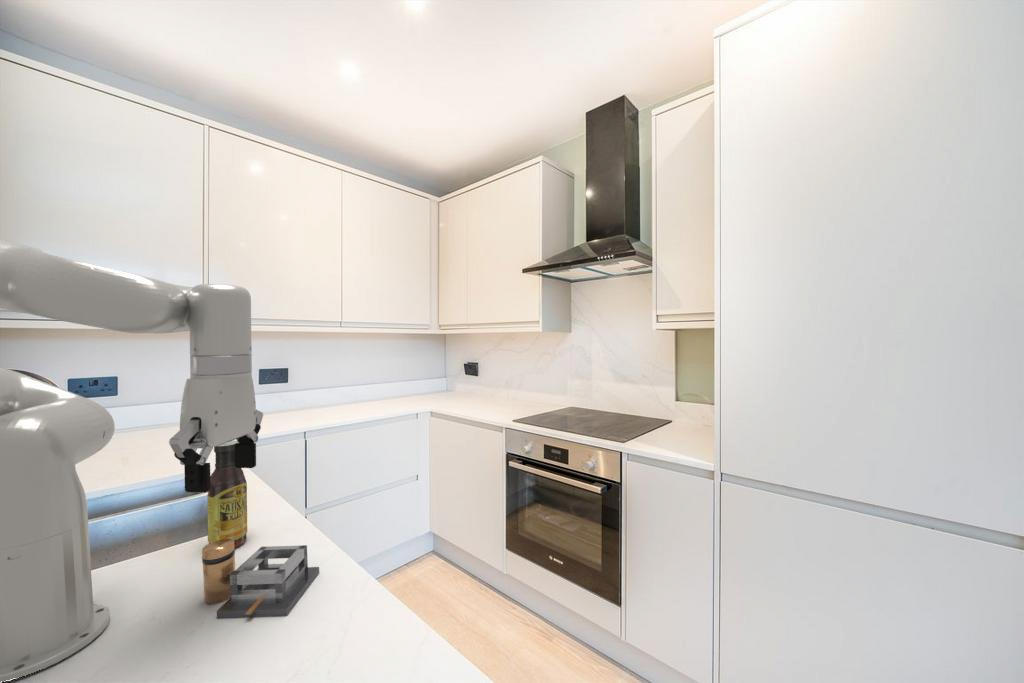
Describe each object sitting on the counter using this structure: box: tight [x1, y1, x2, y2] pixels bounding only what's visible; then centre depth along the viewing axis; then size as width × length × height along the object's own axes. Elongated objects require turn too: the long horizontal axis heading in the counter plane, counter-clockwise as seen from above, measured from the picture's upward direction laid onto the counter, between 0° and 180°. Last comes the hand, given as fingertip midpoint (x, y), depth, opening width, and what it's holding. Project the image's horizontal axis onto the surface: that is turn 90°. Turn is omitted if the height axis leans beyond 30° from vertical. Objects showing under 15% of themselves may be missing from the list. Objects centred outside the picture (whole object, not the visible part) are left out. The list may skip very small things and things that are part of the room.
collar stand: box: [216, 544, 320, 619], centre depth 61 cm, size 10×11×6 cm
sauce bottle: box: [206, 440, 248, 549], centre depth 76 cm, size 7×6×20 cm
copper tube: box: [201, 539, 236, 605], centre depth 61 cm, size 4×4×8 cm
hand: (223, 478), depth 60 cm, fingers open, 9 cm apart
